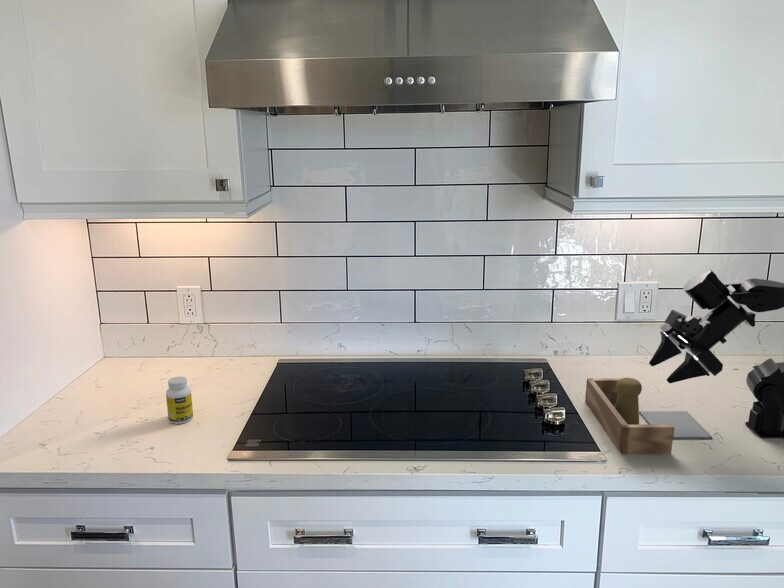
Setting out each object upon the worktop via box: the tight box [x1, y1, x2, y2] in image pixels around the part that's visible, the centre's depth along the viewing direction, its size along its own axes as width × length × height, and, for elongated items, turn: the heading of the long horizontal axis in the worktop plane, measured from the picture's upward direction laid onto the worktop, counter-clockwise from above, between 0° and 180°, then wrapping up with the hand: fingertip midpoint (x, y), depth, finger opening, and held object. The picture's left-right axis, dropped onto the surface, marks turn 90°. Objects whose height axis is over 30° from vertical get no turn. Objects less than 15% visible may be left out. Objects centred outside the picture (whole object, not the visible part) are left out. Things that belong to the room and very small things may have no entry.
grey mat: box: [639, 410, 713, 440], centre depth 139 cm, size 11×12×1 cm
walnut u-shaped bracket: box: [584, 377, 675, 455], centre depth 138 cm, size 10×24×6 cm, turn 0°
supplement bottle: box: [165, 375, 194, 425], centre depth 141 cm, size 5×5×10 cm
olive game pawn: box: [614, 377, 643, 425], centre depth 138 cm, size 6×6×11 cm
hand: (658, 373), depth 136 cm, fingers open, 9 cm apart
